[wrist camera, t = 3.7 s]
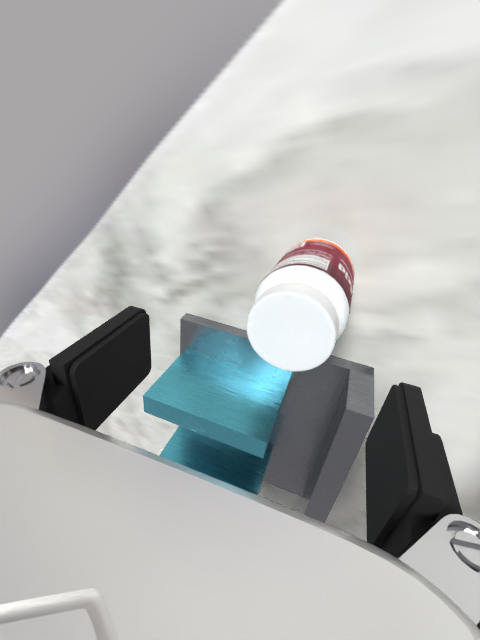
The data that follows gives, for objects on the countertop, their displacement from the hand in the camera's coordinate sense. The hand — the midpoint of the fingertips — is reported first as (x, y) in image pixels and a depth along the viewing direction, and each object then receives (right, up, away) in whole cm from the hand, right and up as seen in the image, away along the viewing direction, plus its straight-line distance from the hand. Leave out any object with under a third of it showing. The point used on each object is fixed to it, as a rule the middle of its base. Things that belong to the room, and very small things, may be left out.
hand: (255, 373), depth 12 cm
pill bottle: (+5, +5, +9) cm, 11 cm away
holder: (+1, -6, +16) cm, 18 cm away
